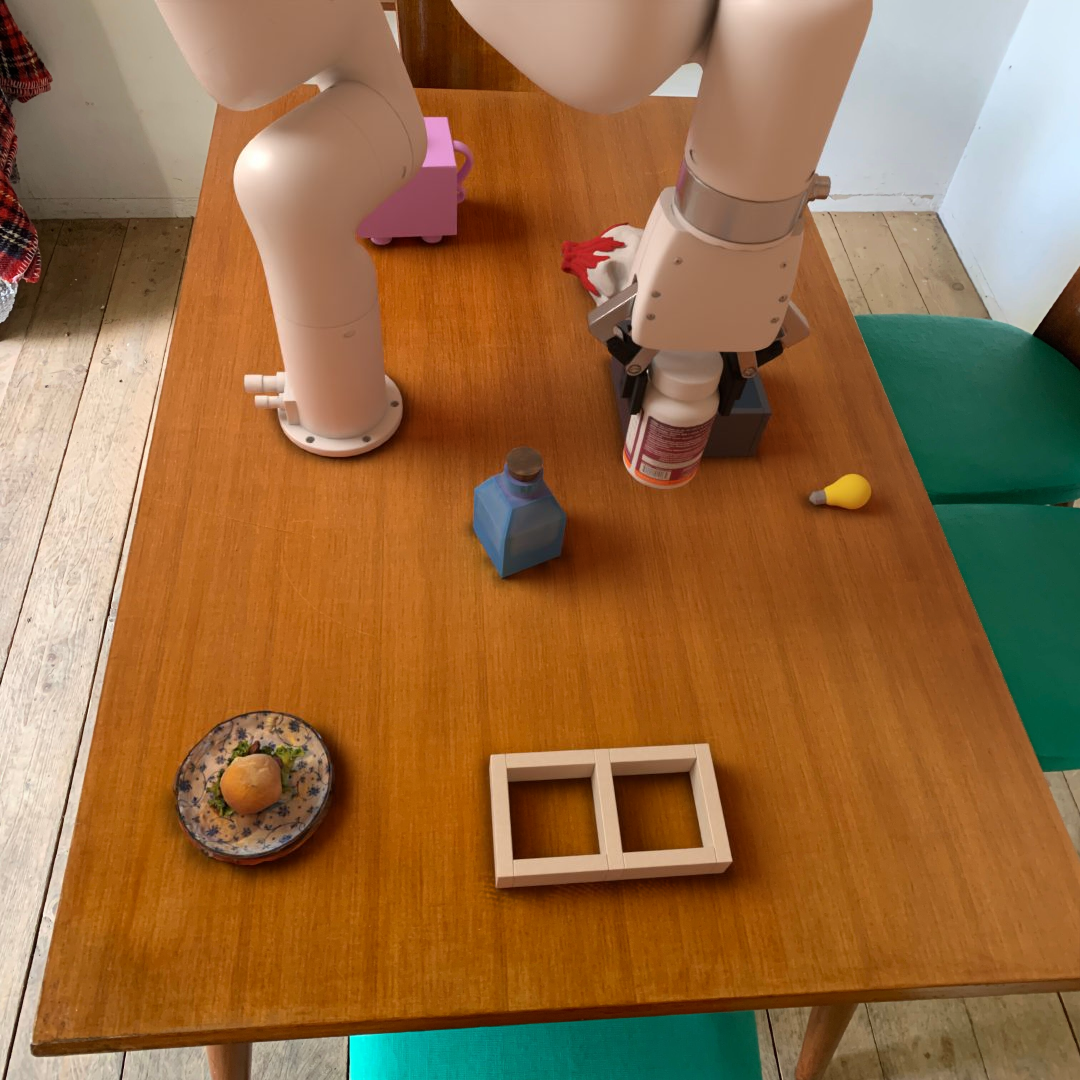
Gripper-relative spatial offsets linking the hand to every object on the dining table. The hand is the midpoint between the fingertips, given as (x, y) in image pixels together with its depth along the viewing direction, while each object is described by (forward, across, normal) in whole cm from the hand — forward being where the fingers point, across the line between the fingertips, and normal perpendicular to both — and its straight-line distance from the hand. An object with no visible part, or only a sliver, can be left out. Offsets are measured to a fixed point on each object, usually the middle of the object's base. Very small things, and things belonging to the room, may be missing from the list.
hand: (676, 400), depth 69 cm
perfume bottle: (+23, +10, -2) cm, 25 cm away
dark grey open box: (+22, -8, -20) cm, 31 cm away
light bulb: (+22, -22, -7) cm, 32 cm away
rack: (+22, +5, +24) cm, 33 cm away
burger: (+23, +32, +21) cm, 44 cm away
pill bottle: (+7, 0, 0) cm, 7 cm away
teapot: (+23, +24, -51) cm, 61 cm away
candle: (+23, -3, -38) cm, 44 cm away
